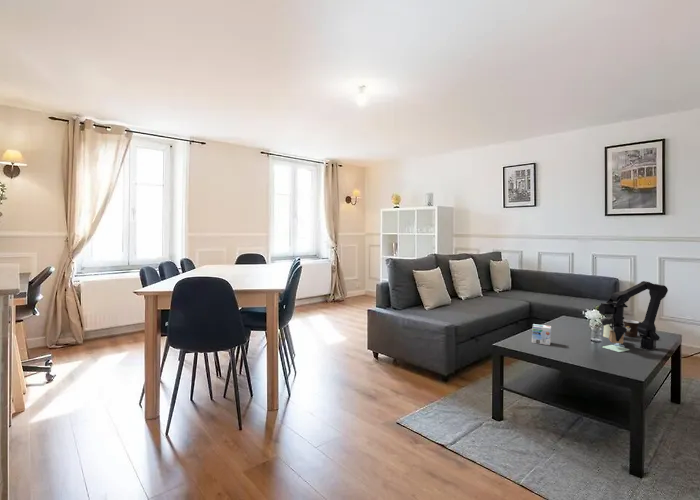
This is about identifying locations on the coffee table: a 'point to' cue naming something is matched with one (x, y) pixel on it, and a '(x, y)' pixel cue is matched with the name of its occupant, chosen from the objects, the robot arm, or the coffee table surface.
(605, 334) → the can
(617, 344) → the screen
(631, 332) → the coffee mug
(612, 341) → the letter cube
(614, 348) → the mat
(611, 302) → the robot arm
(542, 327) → the light bulb box
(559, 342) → the coffee table surface
